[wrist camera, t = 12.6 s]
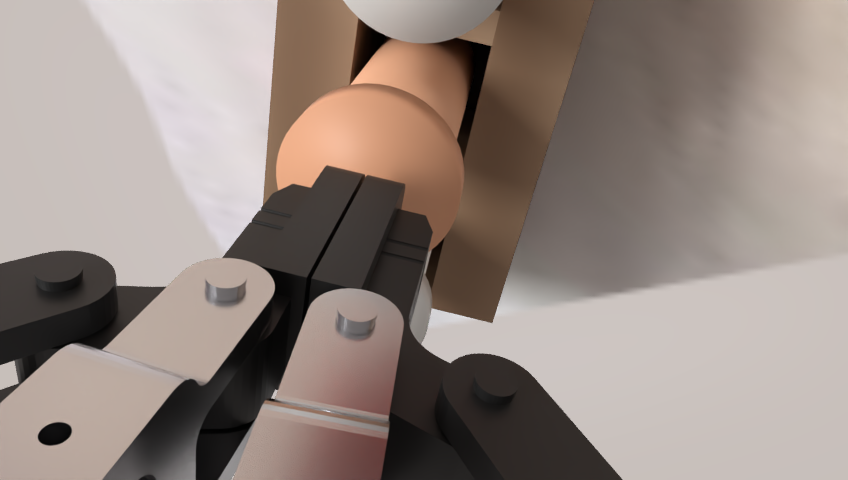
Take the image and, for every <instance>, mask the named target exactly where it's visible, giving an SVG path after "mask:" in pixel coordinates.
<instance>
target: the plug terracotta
mask: <svg viewBox="0 0 848 480" xmlns="http://www.w3.org/2000/svg"><path fill="white" fill-rule="evenodd" d="M474 73H475V57H474V53H473V49H472V47H471V44H470V43H469V41H468V40H464V39H460V38H453V39H450V40H446V41H442V42H437V43H427V44H426V43H411V42H405V41H400V40H397V39H394V38H391V37H387V38H386V40H385V41H384V42H383V44H382V45H381V46H380V47H379V49H378V50H377V51H376V53H375V54H374V55H373V56H372V58H371V59H370V60H369V62H368V63H367V64H366V65H365V67H364V68H363V69H362V71H361V72H360V73H359V74H358V76H357V77H356V78H355V80H354V81H353V82H352V83H351V85H348V86H344V87H340V88H338V89H335V90H332V91H330V92H328V93H326V94H325V95H323V96H321V97H320V98H318V99H317V100H316V101H315V102H313V103H312V104H311V105H310V106H309V107H308V108H307V109H306V110H305V111H304V113H303V114H302V115H301V116H300V117H299V118H298V119H297V121H296V122H295V123H294V124H293V125H292V127H291V128H290V129H289V131H288V132H287V134H286V135H285V137H284V140H283V142H282V144H281V146H280V150H279V153H278V157H277V164H276V179H277V187H278V191H279V190H281V189H283V188H285V187H287V186H289V185H291V184H297V185H301V186H306V187H310V188H311V187H312V185H313V184H314V182H315V181H316V179H317V178H318V176H319V175H320V173H321V172H322V170H323V169H324V168H325V166H327V165H329V166H333V167H337V168H341V169H345V170H349V171H354V172H358V173H362V174H365V177H366V176H367V175H371V176H375V177H379V178H383V179H387V180H392V181H396V182H400V183H404V184H405V193H404V198H403V203H402V209H401V210H405V211H409V212H414V213H418V214H422V215H426V217H427V219H428V222H429V224H430V226H431V229H432V231H433V234H432V238H431V243H430V247H429V251H430V250H432V249H433V248H434V247H435V246H437V245H438V244H439V243H440V242H441V240H442V239H443V238H444V237H445V236H446V234H447V233H448V232H449V230H450V229H451V227H452V225H453V223H454V221H455V218H456V215H457V212H458V209H459V204H460V200H461V195H462V190H463V184H464V163H463V157H462V154H461V150H460V147H459V144H458V142H457V137H458V133H459V130H460V126H461V122H462V119H463V115H464V111H465V108H466V104H467V100H468V96H469V93H470V89H471V85H472V82H473V78H474ZM429 251H428V252H429Z"/></svg>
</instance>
